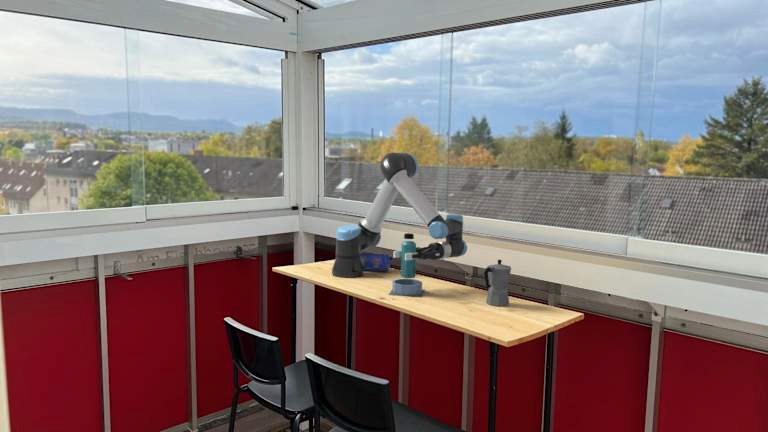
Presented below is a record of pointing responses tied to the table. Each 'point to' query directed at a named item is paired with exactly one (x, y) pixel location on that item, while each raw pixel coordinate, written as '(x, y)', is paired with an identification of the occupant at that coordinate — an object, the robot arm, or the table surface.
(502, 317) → the table surface
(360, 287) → the table surface
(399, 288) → the bowl
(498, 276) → the coffeepot
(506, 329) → the table surface
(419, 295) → the mat
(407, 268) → the beverage bottle
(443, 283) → the table surface
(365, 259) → the pencil case
